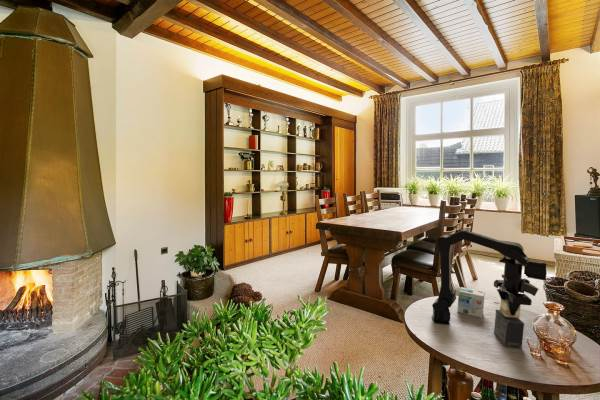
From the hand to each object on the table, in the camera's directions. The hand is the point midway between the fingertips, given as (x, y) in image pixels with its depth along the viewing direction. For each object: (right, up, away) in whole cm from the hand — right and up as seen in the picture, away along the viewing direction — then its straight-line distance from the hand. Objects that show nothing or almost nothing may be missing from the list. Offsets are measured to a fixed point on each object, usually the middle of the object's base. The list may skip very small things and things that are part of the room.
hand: (509, 312), depth 121 cm
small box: (0, -12, +1) cm, 12 cm away
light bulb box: (-2, -10, +25) cm, 27 cm away
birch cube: (0, -1, 0) cm, 1 cm away
